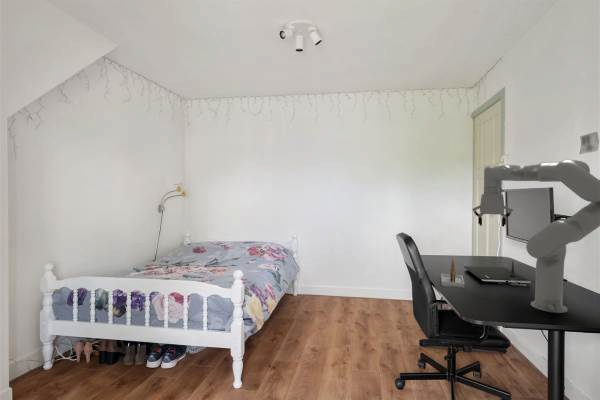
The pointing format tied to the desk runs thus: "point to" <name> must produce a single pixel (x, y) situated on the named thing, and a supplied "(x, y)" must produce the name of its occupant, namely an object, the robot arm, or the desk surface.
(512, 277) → the eiffel tower figurine
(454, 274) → the ammunition clip
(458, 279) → the tray
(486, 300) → the desk surface
